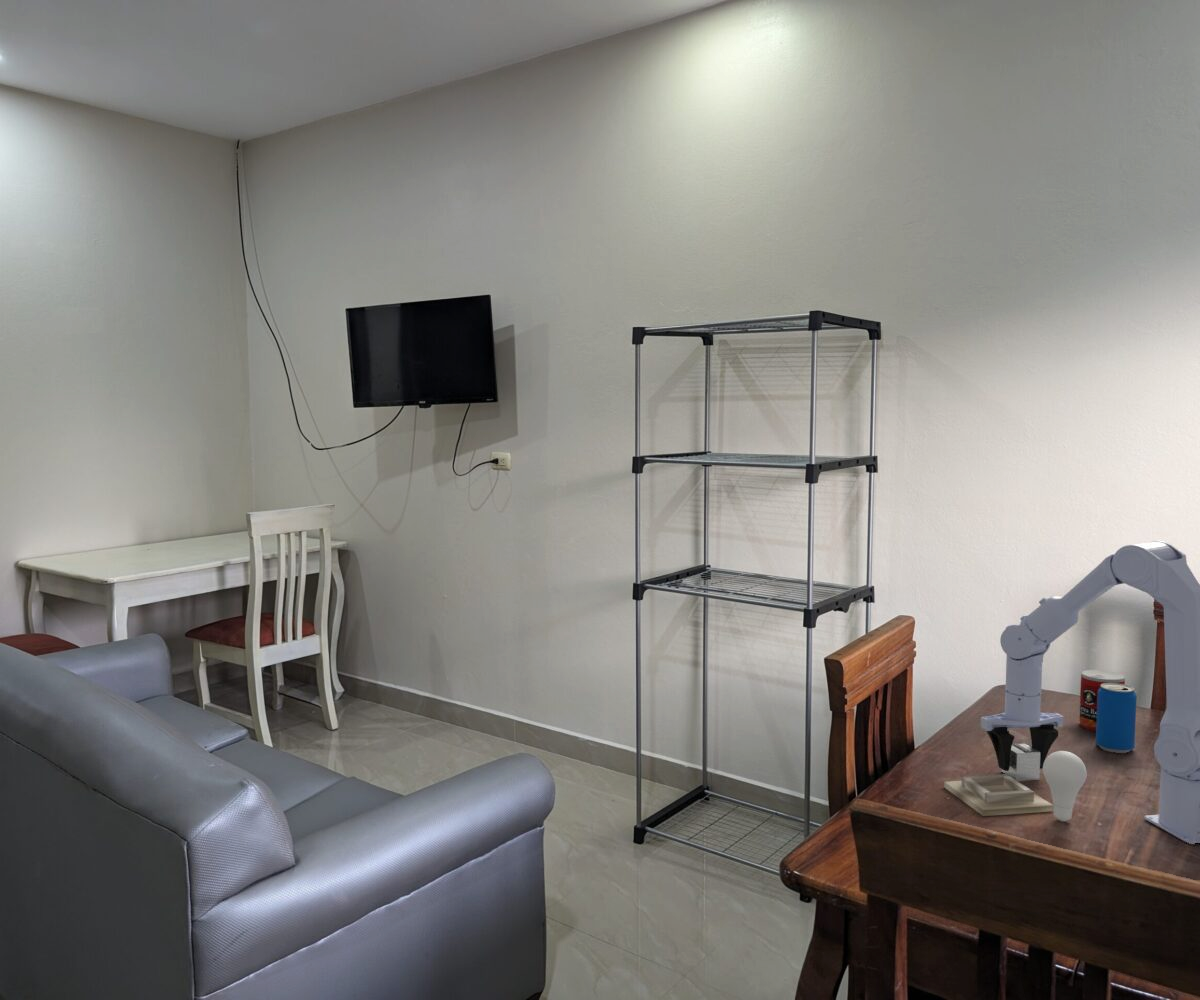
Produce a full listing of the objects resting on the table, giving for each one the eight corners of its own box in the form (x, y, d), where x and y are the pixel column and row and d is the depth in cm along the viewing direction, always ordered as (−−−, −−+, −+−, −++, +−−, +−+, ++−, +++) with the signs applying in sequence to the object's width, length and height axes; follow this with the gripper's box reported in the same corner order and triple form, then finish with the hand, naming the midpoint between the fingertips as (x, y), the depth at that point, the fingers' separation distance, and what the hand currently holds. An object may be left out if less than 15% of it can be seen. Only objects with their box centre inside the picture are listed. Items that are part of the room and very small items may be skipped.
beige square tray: (1052, 811, 151) (1053, 796, 150) (983, 816, 149) (983, 800, 149) (1009, 783, 162) (1009, 769, 162) (944, 787, 161) (944, 773, 160)
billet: (1039, 780, 164) (1040, 750, 164) (1016, 781, 164) (1017, 752, 163) (1024, 770, 169) (1025, 742, 168) (1001, 772, 168) (1002, 743, 167)
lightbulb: (1071, 812, 150) (1074, 745, 149) (1092, 828, 144) (1095, 758, 143) (1033, 813, 150) (1036, 745, 149) (1053, 829, 144) (1055, 759, 143)
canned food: (1070, 724, 194) (1072, 672, 194) (1097, 719, 198) (1099, 667, 197) (1104, 735, 187) (1106, 681, 187) (1131, 730, 191) (1133, 676, 190)
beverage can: (1139, 755, 176) (1142, 692, 175) (1101, 753, 177) (1104, 690, 176) (1127, 744, 182) (1130, 683, 181) (1091, 742, 184) (1093, 681, 183)
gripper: (1047, 683, 170) (1044, 757, 171) (972, 687, 168) (970, 762, 169) (1072, 695, 163) (1069, 771, 164) (994, 698, 161) (992, 776, 162)
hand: (1020, 767), depth 166 cm, fingers open, 6 cm apart
